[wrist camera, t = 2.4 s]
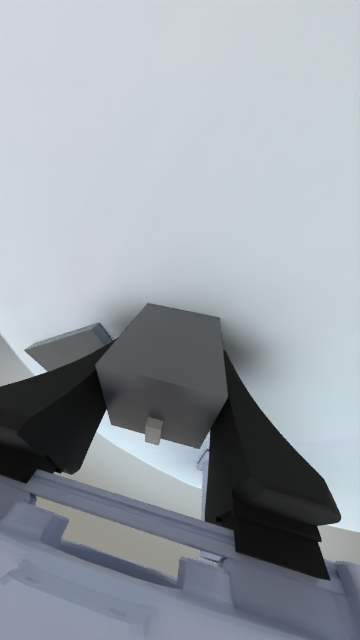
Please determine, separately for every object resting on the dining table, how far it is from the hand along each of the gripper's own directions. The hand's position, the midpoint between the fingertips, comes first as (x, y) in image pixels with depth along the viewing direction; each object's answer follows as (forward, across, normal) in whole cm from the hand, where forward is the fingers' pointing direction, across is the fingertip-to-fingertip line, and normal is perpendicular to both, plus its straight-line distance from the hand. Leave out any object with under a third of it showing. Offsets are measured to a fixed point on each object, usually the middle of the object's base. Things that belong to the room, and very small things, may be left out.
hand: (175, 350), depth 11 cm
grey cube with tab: (+1, 0, 0) cm, 1 cm away
